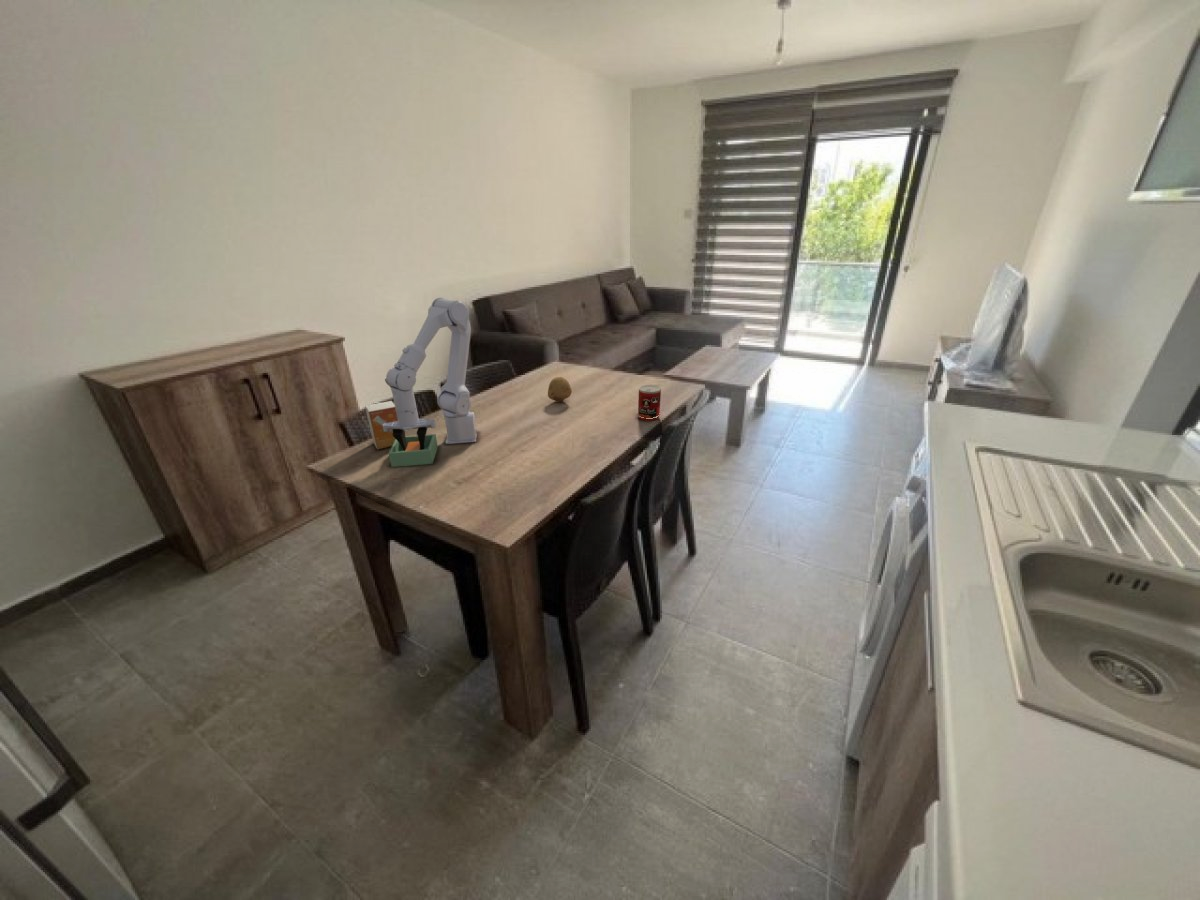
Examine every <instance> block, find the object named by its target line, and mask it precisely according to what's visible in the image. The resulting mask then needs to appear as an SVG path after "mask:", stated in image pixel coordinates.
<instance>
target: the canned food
mask: <svg viewBox="0 0 1200 900" xmlns="http://www.w3.org/2000/svg"><path fill="white" fill-rule="evenodd" d="M661 396H662V388H661V386H658V385H655V384H644V385H640V386H639V388H638V403H637V404H638V405H637V416H638V415H639V416H641V417H644V418H641V417H639V416H638V418H639V419H640V420H642V421H644V422H645V421H646V422H652V421H657V420H658V419H659V418H660V414H659V413H660V412H661V410H660V409H661V398H662V397H661ZM658 415H659V416H658ZM656 416H658V417H657V418H653V417H656ZM646 418H653V419H646Z"/></svg>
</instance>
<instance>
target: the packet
mask: <svg viewBox="0 0 1200 900" xmlns="http://www.w3.org/2000/svg"><path fill="white" fill-rule="evenodd" d="M412 450H420V443H419V441H416V442H409V443H408V445H407V448H406V450H405V451H412Z"/></svg>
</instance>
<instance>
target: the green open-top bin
mask: <svg viewBox="0 0 1200 900" xmlns="http://www.w3.org/2000/svg"><path fill="white" fill-rule="evenodd" d="M405 438H406V442H407V445H408V443H409V442H416V441H419V439H418V436H417V434H416V435H415V434H414V435H405ZM438 448H439V445H438V439H437V435H436V433H431V434H426V435H425V441H424V450H412V451H404V450H403V448H402V447H401V445H400V443H399V442H398V441H397V440H395V442H394V444H393V446H391V447H390V449H389V451H388V459H389V462H390V467H391V468H394V467H395V468H396V467H409V466H422V465H423V466H424V465H433V464H434V461H435V458H436V454H437V452H438Z"/></svg>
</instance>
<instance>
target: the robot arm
mask: <svg viewBox="0 0 1200 900" xmlns="http://www.w3.org/2000/svg"><path fill="white" fill-rule="evenodd" d="M446 327H447V328H448V329H449V330H450V332H451V336H450V337H451V338H450V345H449V346H450V347H449V357H448V364H447V365H448V366H447V376H446V382H445V383H444V384H443V385H441V387H440V393H439V395H438V397H437V400H436V401H437V402H436V403H437V406H438V407H439V409H441V410H442V414H443V416H444V422H445V429H446V439H445V442H444V443H445V444H446V445H451V444H454V445H455V444H464V443H465V444H466V443H476V442H477V435H478V429H477V423H476V422H477V421H476V416H475V415H476V414H475V412H474V411H470V410H471V407H472V402H471V399H470V396H471V393H470V391H469V389H468V387H467V386H466V379H467V378H466V377H467V370H468V369H467V368H468V360H469V350H470V342H471V333H472V326H471V322H470V309H469V308H468V306H467V305H466V304H465V303H464V302H463V301H462V300H458V299H457V300H455V299H449V298H445V297H436V298H435V299H433V301H432V302H431V305H430V306H429V307H428V309H427V316H426V318H425V320H424V322H423V324H422V326H421V329H420V330H419V332H418V334H417V336H416V338H415V340H414V342H413V343H411V344H408V345H406V347H403V349H402V351H401V352H402V354H401V355H400V357H399V359H398V360H397V362H395V363H394V367H392V368H390V369H388V371H387V372H386V376H385V378H384V381H385V383H386V385H387V386H389V388H390V390H391V395H392V400H393V403H394V405H395V409H396V414H397V419H398V421H396V422H390V423H384V424H383V431H384V432H387V431H388V430H393V434H392V435H393V437H394V438H395V439H396V440H397V441H398V442H399V443H400V445H401V447H402V448H403V450H404V451H405V450H406V448H407V442H406V438H405V436H406V431H410V430H416V429H417V430H416V435H417V436H418V439H419V443H420V450H424V441H425V435H427V431H428V429H436V426H437V425H436V424H437V423H436V420H435V419H421V418H419V413H418V408H417V403H416V402H417V401H416V397H415V392H414V386H416V383H417V378H416V377H417V373H418V371H419V369H420V368H421V366H422V365H423V362H424V361H425V359H426V357H427V353H426V350H427V348H428V346H429V345H430V343H431V342H432V341H433V339H434V337H436V335H437V333H438V332H439V330H440V329H442V328H446Z"/></svg>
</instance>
